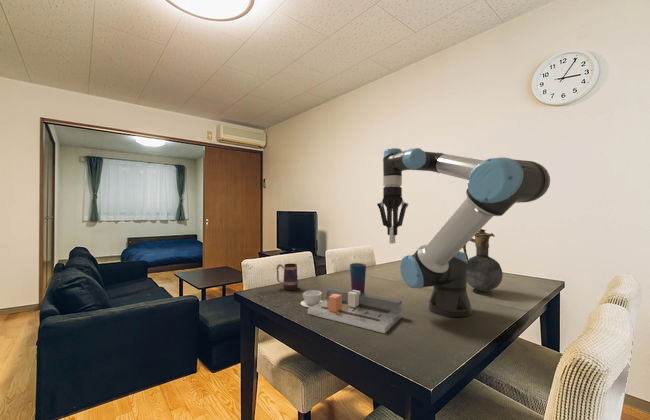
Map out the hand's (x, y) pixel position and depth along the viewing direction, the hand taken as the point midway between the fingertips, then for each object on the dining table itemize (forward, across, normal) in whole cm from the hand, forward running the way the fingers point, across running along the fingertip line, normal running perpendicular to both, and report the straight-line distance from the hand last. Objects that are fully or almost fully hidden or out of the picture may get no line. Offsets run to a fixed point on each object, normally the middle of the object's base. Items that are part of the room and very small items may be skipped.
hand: (392, 243), depth 121 cm
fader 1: (+22, +12, +27) cm, 37 cm away
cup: (+25, +13, +6) cm, 28 cm away
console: (+24, +6, +23) cm, 34 cm away
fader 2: (+22, +8, +19) cm, 30 cm away
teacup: (+25, +26, +21) cm, 42 cm away
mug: (+25, +49, +10) cm, 56 cm away
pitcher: (+25, -29, -35) cm, 52 cm away
